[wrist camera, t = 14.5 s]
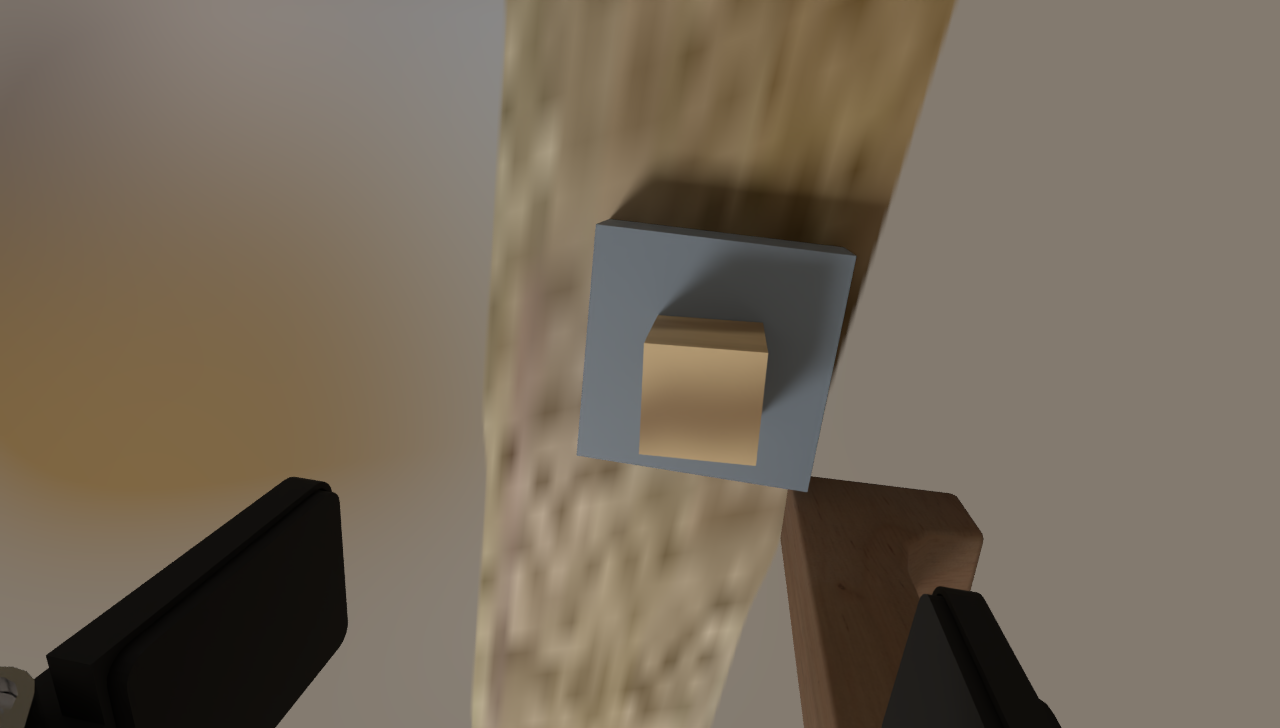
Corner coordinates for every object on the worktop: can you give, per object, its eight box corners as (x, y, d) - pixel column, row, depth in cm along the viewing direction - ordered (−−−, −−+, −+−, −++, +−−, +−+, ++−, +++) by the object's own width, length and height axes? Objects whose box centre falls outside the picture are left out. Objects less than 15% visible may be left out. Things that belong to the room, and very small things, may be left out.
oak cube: (657, 314, 31) (643, 343, 26) (763, 322, 30) (768, 352, 25) (653, 411, 32) (638, 454, 28) (752, 420, 32) (755, 466, 27)
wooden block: (957, 491, 35) (1170, 798, 18) (940, 562, 36) (1123, 910, 19) (789, 470, 36) (839, 742, 19) (779, 540, 37) (816, 853, 20)
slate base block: (611, 218, 34) (595, 224, 30) (841, 246, 33) (856, 255, 29) (592, 426, 37) (576, 455, 34) (799, 458, 36) (807, 492, 32)
